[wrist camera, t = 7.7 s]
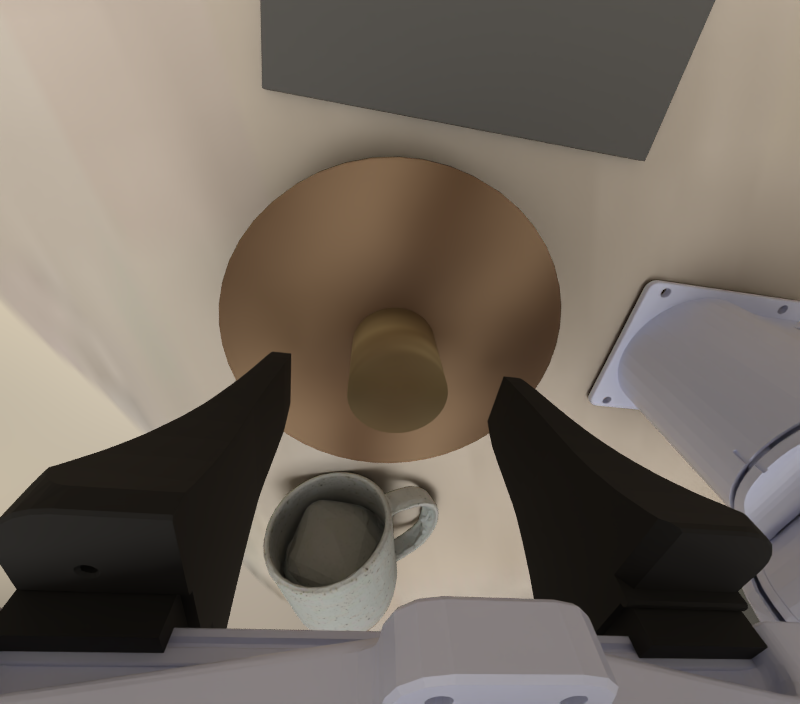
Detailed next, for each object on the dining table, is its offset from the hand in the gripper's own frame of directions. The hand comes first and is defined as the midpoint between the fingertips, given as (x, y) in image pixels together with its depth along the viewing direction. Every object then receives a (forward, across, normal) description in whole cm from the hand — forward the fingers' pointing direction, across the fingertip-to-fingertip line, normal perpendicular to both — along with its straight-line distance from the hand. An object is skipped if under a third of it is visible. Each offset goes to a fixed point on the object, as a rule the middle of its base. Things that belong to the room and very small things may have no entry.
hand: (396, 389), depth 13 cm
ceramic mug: (+8, 0, +16) cm, 18 cm away
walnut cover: (+3, 0, 0) cm, 3 cm away
